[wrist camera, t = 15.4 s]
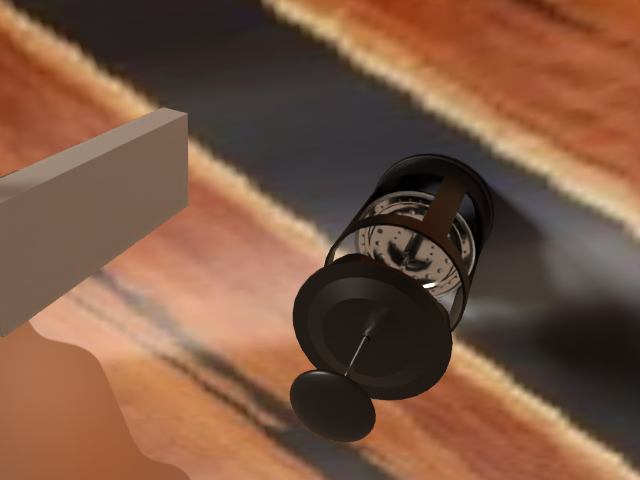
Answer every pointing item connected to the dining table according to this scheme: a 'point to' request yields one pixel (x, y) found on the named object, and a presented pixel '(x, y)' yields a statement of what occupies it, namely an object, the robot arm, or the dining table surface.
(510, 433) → the dining table surface
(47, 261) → the robot arm
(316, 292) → the french press
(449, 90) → the dining table surface
